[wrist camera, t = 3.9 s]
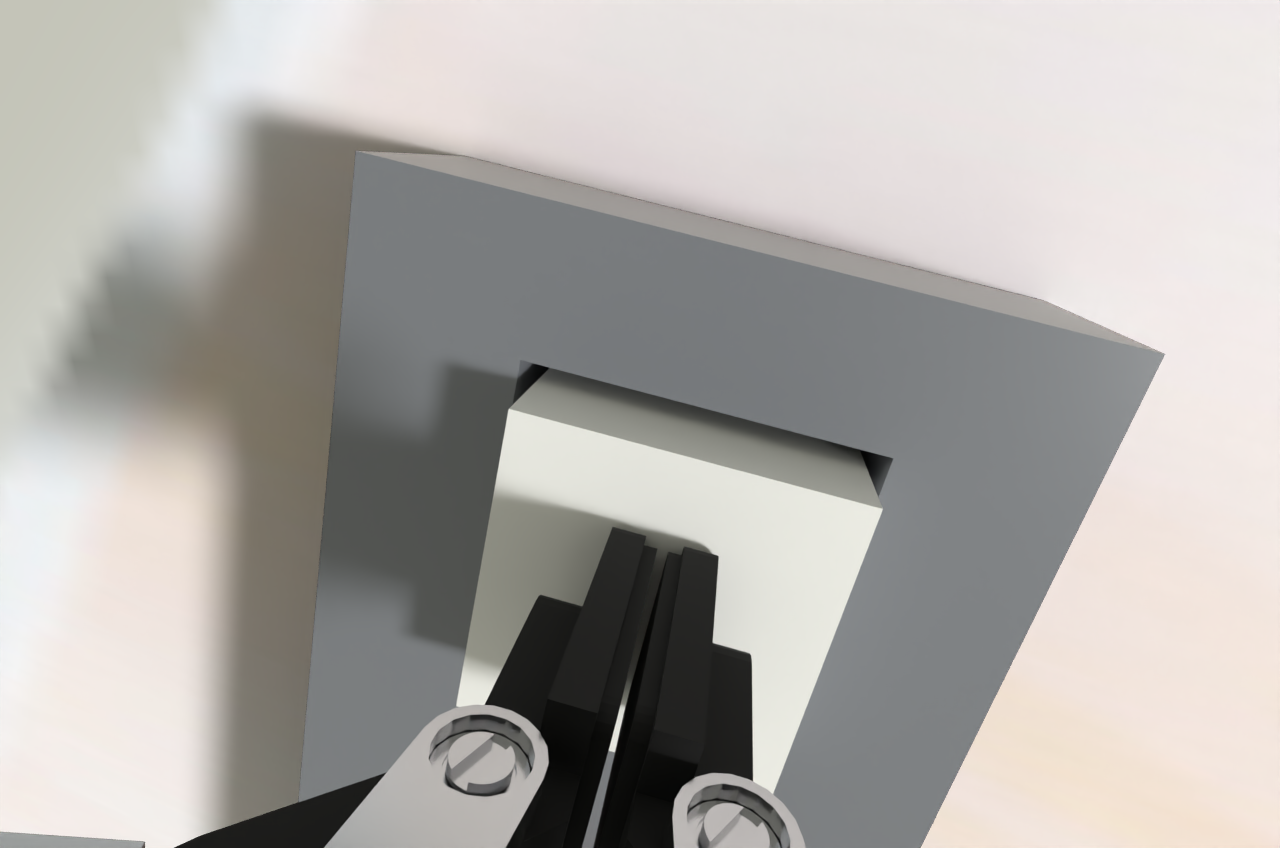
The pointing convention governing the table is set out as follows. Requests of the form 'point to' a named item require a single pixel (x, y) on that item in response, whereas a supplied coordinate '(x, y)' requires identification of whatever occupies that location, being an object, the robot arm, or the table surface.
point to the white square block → (675, 533)
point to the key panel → (719, 381)
